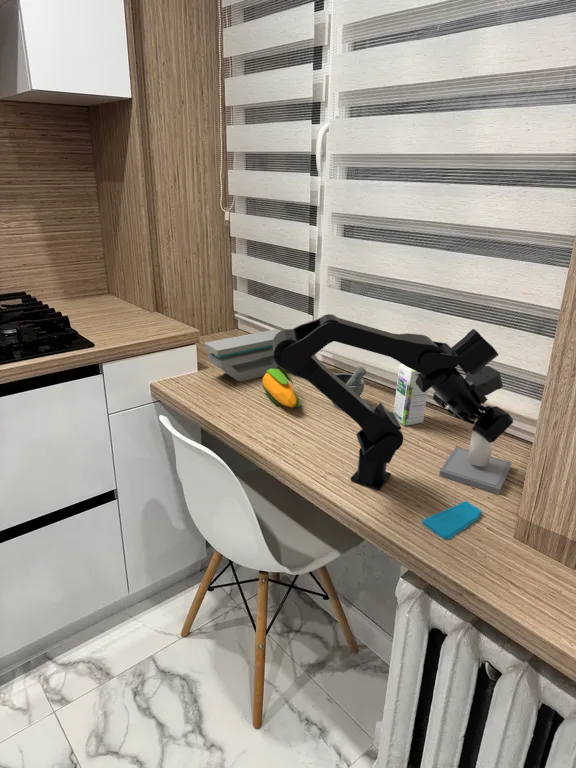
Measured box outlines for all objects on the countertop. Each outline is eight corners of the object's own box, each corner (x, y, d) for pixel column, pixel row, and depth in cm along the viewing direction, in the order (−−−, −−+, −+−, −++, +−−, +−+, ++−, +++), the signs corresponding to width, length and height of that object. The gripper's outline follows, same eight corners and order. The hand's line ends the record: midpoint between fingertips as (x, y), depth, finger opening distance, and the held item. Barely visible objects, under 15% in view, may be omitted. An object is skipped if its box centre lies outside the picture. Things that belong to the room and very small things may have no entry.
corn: (281, 360, 150) (309, 387, 132) (282, 384, 153) (309, 414, 136) (256, 364, 147) (281, 392, 130) (258, 389, 150) (282, 419, 133)
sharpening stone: (275, 361, 170) (276, 329, 165) (289, 369, 164) (290, 335, 160) (205, 377, 156) (204, 342, 152) (218, 386, 150) (217, 350, 146)
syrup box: (391, 416, 136) (397, 363, 130) (411, 413, 138) (418, 361, 132) (404, 426, 131) (410, 372, 125) (424, 423, 133) (432, 369, 127)
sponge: (491, 517, 97) (467, 497, 101) (445, 538, 91) (421, 517, 96) (489, 523, 98) (465, 504, 102) (443, 545, 92) (419, 523, 96)
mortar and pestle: (318, 402, 142) (320, 360, 138) (342, 393, 148) (345, 353, 143) (348, 417, 135) (352, 373, 130) (373, 407, 140) (377, 365, 136)
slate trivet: (498, 494, 105) (499, 489, 104) (439, 475, 111) (440, 470, 110) (510, 467, 114) (511, 462, 114) (455, 451, 120) (456, 446, 120)
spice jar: (484, 468, 110) (493, 424, 106) (464, 461, 112) (472, 417, 108) (491, 460, 113) (501, 416, 109) (471, 453, 115) (479, 410, 111)
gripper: (514, 375, 94) (551, 423, 101) (453, 341, 110) (488, 385, 118) (469, 419, 95) (508, 464, 102) (415, 380, 111) (452, 421, 118)
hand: (489, 430), depth 110 cm, fingers closed on spice jar, 4 cm apart
